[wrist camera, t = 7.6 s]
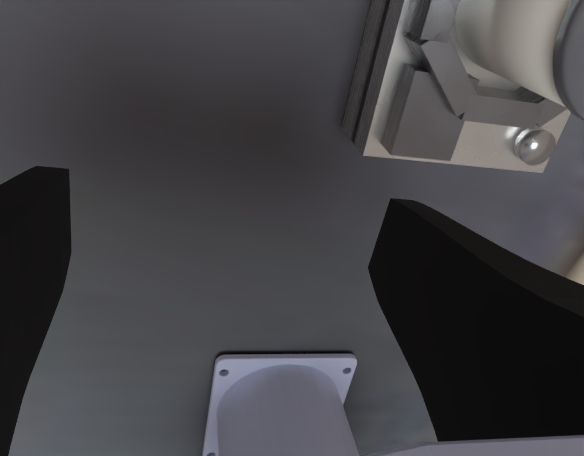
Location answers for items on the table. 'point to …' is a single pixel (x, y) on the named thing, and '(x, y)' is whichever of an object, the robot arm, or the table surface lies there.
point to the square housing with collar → (441, 96)
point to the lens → (528, 44)
